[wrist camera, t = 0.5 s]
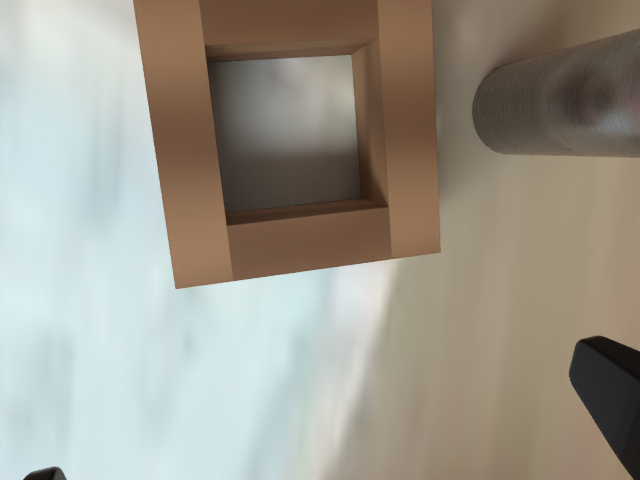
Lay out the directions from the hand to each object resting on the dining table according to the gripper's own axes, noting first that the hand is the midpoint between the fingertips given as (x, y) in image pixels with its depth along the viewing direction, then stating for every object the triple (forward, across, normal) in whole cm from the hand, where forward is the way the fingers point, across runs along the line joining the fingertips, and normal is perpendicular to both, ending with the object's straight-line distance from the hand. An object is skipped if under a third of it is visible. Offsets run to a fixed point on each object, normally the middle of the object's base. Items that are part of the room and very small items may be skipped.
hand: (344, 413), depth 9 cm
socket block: (+14, -2, 0) cm, 15 cm away
